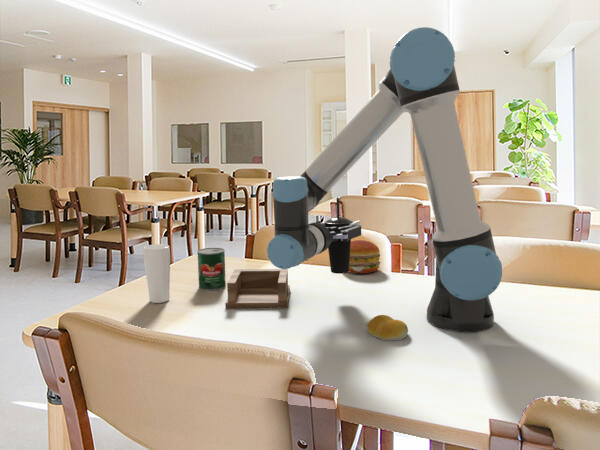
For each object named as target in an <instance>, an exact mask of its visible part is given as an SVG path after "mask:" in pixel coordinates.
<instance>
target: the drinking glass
mask: <svg viewBox="0 0 600 450" xmlns="http://www.w3.org/2000/svg"><path fill="white" fill-rule="evenodd" d="M143 263H144V270H145V276H146V283H147V289H148V290H147V291H148V300H149V302H150V303H153V304H162V303H163V304H164V303H166V302H168V301H169V300H170V299H171V298H170V297H171V296H170V294H171V293H170V284H171V283H170V282H171V280H170V279H171V278H170V277H171V251H170V245H168V244H165V243H164V244H163V243H157V244H149V245H145V246H144V247H143Z"/></svg>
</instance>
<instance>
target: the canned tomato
mask: <svg viewBox="0 0 600 450" xmlns="http://www.w3.org/2000/svg"><path fill="white" fill-rule="evenodd" d="M225 252H226V251H225V249H224V248H221V247H207V248H201V249H198V250H197V252H196V253H197V271H198V273H197V274H198V289H199V290H201V291H208V292H211V291H214V292H215V291H220V290H223V289H225V288H226V287H227V282H226V258H225V257H226V256H225Z"/></svg>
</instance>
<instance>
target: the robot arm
mask: <svg viewBox="0 0 600 450" xmlns="http://www.w3.org/2000/svg"><path fill="white" fill-rule="evenodd" d="M390 53H391V54H390V57H389V59H390V60H389V68H390V69H389V71H387V73H386V74H385V75H384V76H383V78H382V79H381V80H380V81H379V82H378V83H379V84H378V90H377V91H376V92H375V93H374V94H373V96H372V97H371V98H370V99H369V100H368V101H367V102H366V103H365V104H364V105H363V107H362V108H361V109H360V110H359V111H358V112H357V113H356V114H355V115H354V116H353V118H352V119H351V120H350V121H349V122H348V123H347V124H346V125H345V126H344V127H343V128H342V130H341V131H340V132H339V133H337V135H336V136H335V137H334V138H333V140H332V141H330V143H329V144H328V145H327V147H325V148H324V150H322V151H321V153H320V154H319V155H318V156H317V157H316V158H315V159H314V161H313V162H312V163H310V165H309V166H308V167H307V168H306V169H305V170H304V171H303V173H301V175H299V176H281V177H279V176H278V177H276V178H275V179H274V180H273V183H272V198H273V201H272V202H273V203H272V204H273V223H274V230H273V231H274V232H273V233H274V237H273V238H271V239H270V241H269V242H268V244H267V247H266V254H267V258H268V260H269V261H270V263H271V264H272V265H273V266H274V267H275V268H277V269H288V270H289V269H291V268H295V267H298V266H300V265H301V264H302V263H304V262H307V261H309V259H310V260H311V258H314V257H315V256H317V255H319V254H321V253H323V252H325V251H326V250H328V247H329V245H330V243H331V242H334V241H338V239H341V241H343V242H347V241H348V240H350V239H351V240H353V239H356V238H358V237H361V236H362V225H361V220H358V219H357V220H356V221H353V223H351V224H349V226H345V227H340V228H338V227H330V228H329V227H326V226H325V224H324V222H325V221H323V222H321V220H316V221H315V222H311V223H309V212H310V211H312V210H313V209H315V208H316V207H317V206H318V205H319V204H320V202H321V201H322V200H323V198H324V197H325V196H326V195H328V193H329V192H330V191H331V190H332V189H333V187H335V185H336V184H337V183H338V182H339V181H340V180H341V179H342V178H343V177H344V176H345V175H346V174H347V173H348V172H349V170H350V169H352V168H353V166H354V165H355V164H357V162H358V161H360V159H361V158H362V157H363V156H364V155H365V154H366V153H367V151H368V150H370V149H371V147H372V146H373V145H374V144H375V143H376V142H377V141H378V140H379V139H380V138H381V137H382V136H383V135H384V134H385V133H386V132H387V130H388V129H390V127H391V126H392V125H393V124H394V123H395V122H396V121H397V120H398V119H399V118H400V117H401V116H402V114H403V113H408V114H409V115H410V118H411V122H412V126H413V130H414V135H415V138H416V144H417V146H418V151H419V152H418V153H419V155H420V160H421V165H422V168H423V173H424V177H425V180H426V181H425V182H426V185H427V190H428V194H429V195H428V196H429V199H430V203H431V207H432V211H433V215H434V220H435V224H436V231H435V232H434V233H433V235H432V237H431V241H432V244H433V248H434V252H435V253H434V254H435V284H434V290H433V292H432V295H431V297H430V300H429V302H428V305H427V309H426V321H428V322H429V323H430V324H431V325H433V326H435V327H437V328H440V329H444V330H449V331H454V332H463V333H464V332H465V333H468V332H470V333H471V332H481V331H487V330H489V329H491V328H492V327H493V326H494V322H495V313H494V310H493V307H492V304H491V300H490V296H491V295H492V293H494V292H495V291H496V290H497V289H498V287H499V285H500V284H501V281H502V277H503V265H502V261H501V260H500V257H499V256H498V255H497V252H496V246H495V243H494V239H493V234H492V230H491V225H490V224H488V223H487V222H485V221H483V220H481V217H480V212H479V208H478V207H479V206H478V202H477V199H476V194H475V190H474V186H473V182H472V177H471V172H470V168H469V163H468V159H467V154H466V150H465V146H464V142H463V141H464V140H463V137H462V132H461V128H460V123H459V118H458V113H457V110H456V106H455V101H456V99H457V98H458V96H459V94H460V92H461V90H460V86H459V81H458V78H457V72H456V67H455V61H456V60H455V58H456V53H455V49H454V46H453V44H452V42H451V40H450V39H449V38H448V37H447V35H445V34H444V33H443V32H442V31H440V30H438V29H435V28H433V27H425V26H424V27H417V28H413V29H411V30H409V31H407V32H405V33H404V34H403V35H402V36H400V38H399V39H398V40H397V41H396V43H395V44H394V46H393V48H392V50H391V52H390Z"/></svg>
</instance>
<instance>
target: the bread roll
mask: <svg viewBox="0 0 600 450" xmlns="http://www.w3.org/2000/svg"><path fill="white" fill-rule="evenodd" d="M366 330H367V333H369V334H370V335H371V336H372V337H375V338H378V339H379V340H382V341H390V342H391V341H400V340H404V339H405V338H406V337H407V335H408V332H409V329H408V326H407V324H406V323H405V321H403V320H401V319H394V317H391V316H390V315H387V314H380V315H376V316H373V317H372V318H371V319H370V320H369V321H368V322H367V323H366Z"/></svg>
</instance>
